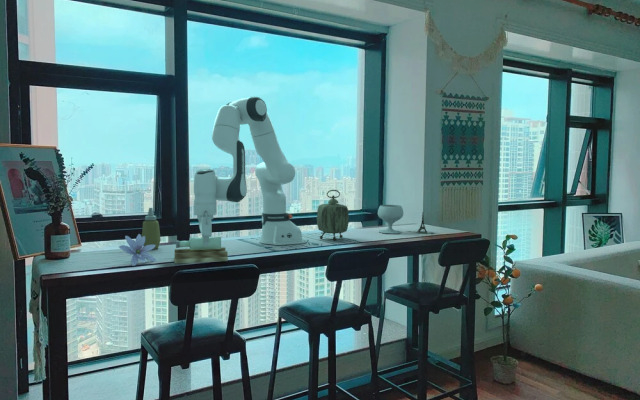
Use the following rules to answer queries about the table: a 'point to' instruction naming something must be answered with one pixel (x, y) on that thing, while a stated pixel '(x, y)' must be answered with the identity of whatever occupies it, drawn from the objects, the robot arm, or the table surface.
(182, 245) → the bottle
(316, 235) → the table surface
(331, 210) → the tabletop clock
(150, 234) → the squeeze bottle
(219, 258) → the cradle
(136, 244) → the water lily
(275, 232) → the robot arm
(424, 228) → the eiffel tower figurine
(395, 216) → the chalice
